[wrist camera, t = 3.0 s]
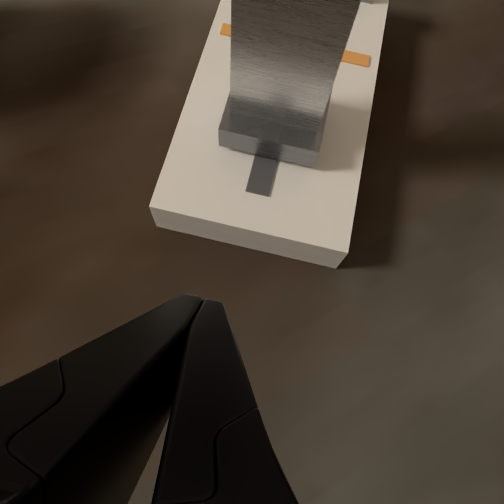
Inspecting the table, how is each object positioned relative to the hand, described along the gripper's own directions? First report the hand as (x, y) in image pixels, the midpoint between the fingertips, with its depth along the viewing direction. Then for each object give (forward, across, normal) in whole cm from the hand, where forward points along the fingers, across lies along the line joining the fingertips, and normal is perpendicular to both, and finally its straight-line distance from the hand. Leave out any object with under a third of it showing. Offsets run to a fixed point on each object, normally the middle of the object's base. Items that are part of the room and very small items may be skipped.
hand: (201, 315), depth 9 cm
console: (+20, 0, -2) cm, 20 cm away
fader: (+16, 0, -2) cm, 16 cm away
